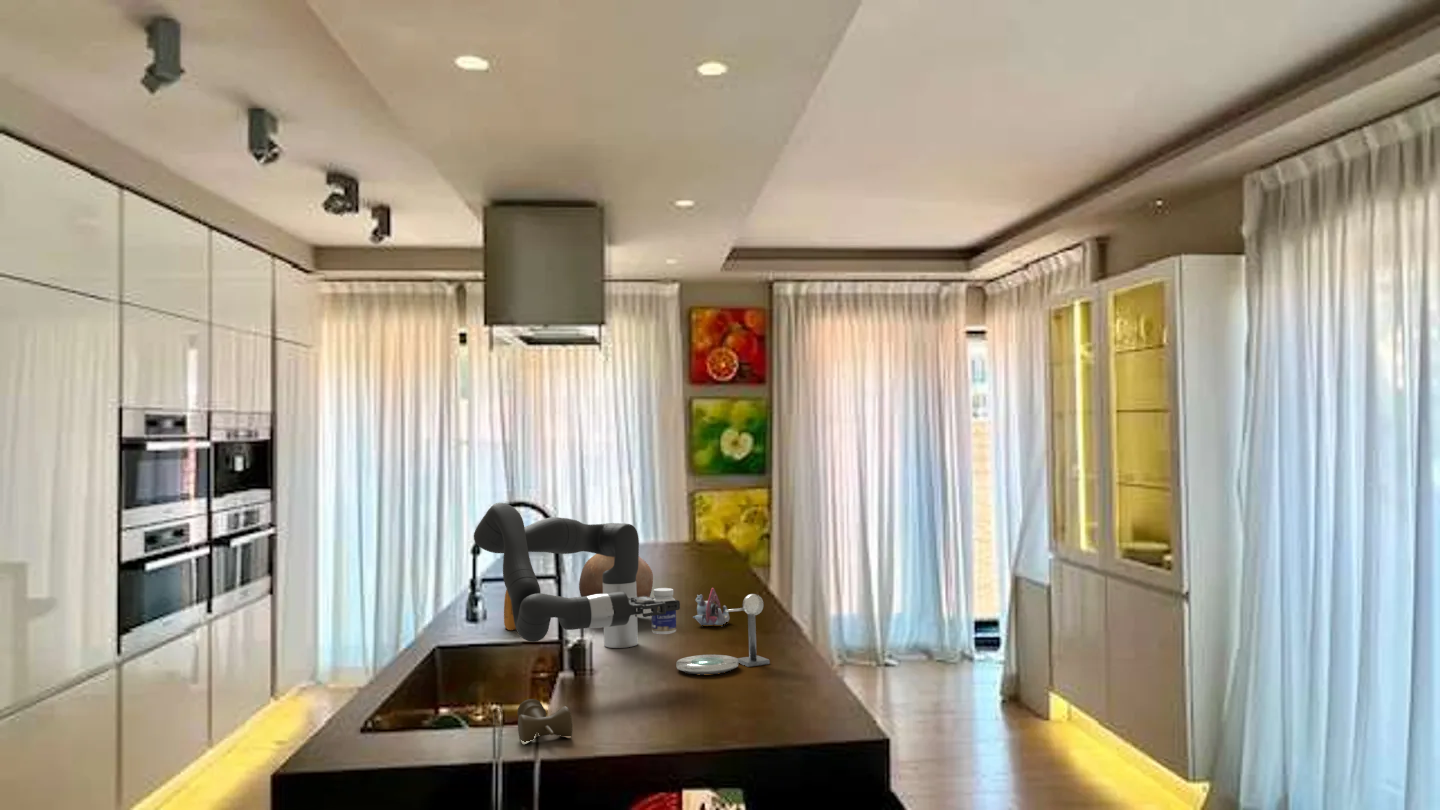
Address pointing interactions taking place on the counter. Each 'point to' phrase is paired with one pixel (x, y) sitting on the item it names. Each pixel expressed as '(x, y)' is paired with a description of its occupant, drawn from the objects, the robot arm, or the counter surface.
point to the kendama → (542, 721)
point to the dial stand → (752, 629)
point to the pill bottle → (668, 620)
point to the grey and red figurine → (710, 610)
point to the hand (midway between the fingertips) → (673, 603)
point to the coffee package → (508, 613)
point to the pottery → (600, 564)
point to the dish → (707, 664)
